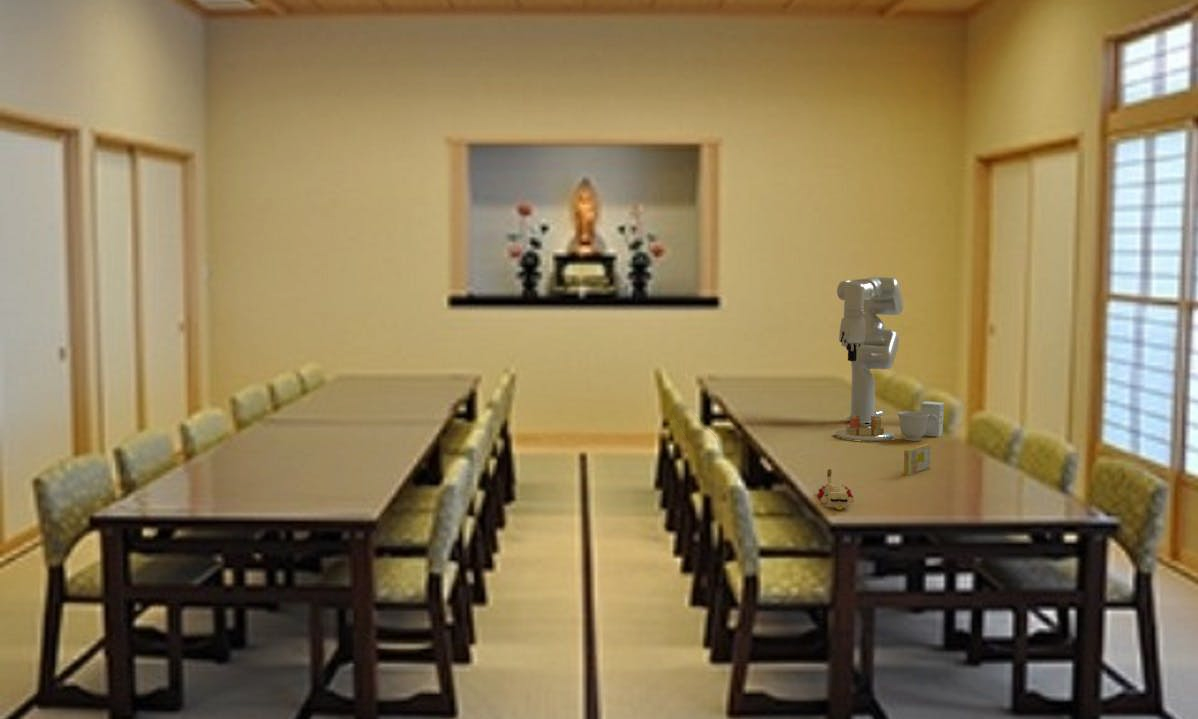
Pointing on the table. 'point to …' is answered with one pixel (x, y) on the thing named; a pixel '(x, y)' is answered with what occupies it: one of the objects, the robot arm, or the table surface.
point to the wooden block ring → (875, 425)
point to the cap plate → (883, 437)
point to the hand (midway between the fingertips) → (852, 360)
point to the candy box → (916, 459)
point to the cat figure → (834, 495)
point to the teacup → (914, 424)
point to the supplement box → (933, 409)
